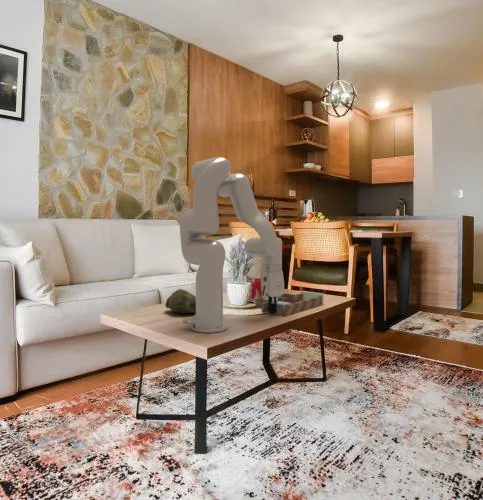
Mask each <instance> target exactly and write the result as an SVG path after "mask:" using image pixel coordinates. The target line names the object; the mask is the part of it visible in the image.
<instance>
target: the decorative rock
mask: <svg viewBox="0 0 483 500" xmlns="http://www.w3.org/2000/svg"><path fill="white" fill-rule="evenodd" d="M165 308H166V309H170V310H172V311H173V312H174V313H179V314H180V315H185V314H189V313H191V314H192V313H193V314H196V295H194V294H193V293H191V292H189V291H187V290H184V289H181V288H179V289H177V290H175V291H173V292H172V293H171V295H170V296H169V297H168V298H167V299H166V301H165Z"/></svg>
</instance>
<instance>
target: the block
mask: <svg viewBox="0 0 483 500" xmlns="http://www.w3.org/2000/svg"><path fill="white" fill-rule="evenodd" d="M289 304H292V303H288V302H281V301H278V302H277V313H276V314H278V315H282V306H285V305H289Z"/></svg>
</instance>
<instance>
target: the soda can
mask: <svg viewBox="0 0 483 500" xmlns="http://www.w3.org/2000/svg"><path fill="white" fill-rule="evenodd" d="M248 282H250V283H251V289H250V296H249V299H250V301H252V302H255V298H260V297H264V296H263V295H262V276H260V275H259V276H257V275H255V276H254V275H252V276H251V275H250V276H248V279H247V283H248Z"/></svg>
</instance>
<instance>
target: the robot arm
mask: <svg viewBox="0 0 483 500" xmlns="http://www.w3.org/2000/svg"><path fill="white" fill-rule="evenodd" d="M231 164H232V163H231V161H230V160H228V159H227V158H225V157H222V156H221V157H220V156H218V157H217V156H216V157H211V158H207V159H204V160H199V161H196V162H195V163H194V164H193V165H192V167H191V171H190V173H191V177H192V179H193V180H194V182H195V183H194V186H193V190H192V208H190V209H187V210H185V211H184V212H183V213H182V215H181V217H180V219H179V236H180V248H181V253H182V257H183V258H184V260H185V262H187V263H189V264H190V265H195V266H198V268H197V271H196V275H195V297H196V313H195V314H194V315H193V316H191V317H183V318H182V324H183V325H184V324H185V325H191V330H192V331H194V332H197V333H204V334H209V333H211V334H213V333H219V332H223V331H225V330H227V329H228V324H227V323H226V322H224V317H223V316H224V313H223V312H224V311H223V310H224V309H223V308H224V304H223V303H224V298H223V297H224V292H223V291H224V290H223V287H224V285H223V281H224V280H223V278H224V275H223V274H224V264H225V260H226V249H225V247H224V245H223V244H222V243H221V242H220V241H218V240H216V239H211V238H204V236H211V235H215V234H217V232H218V231H219V227H220V220H219V219H220V218H219V216H220V215H219V204H218V203H219V202H218V200H219V199H218V197H222V198H230V201H231V204H232V206H233V209H234V213H235V216H236V218H237V219H238V220H239V221H241V222H243V223H244V224H245V225H248V226H249V227H251V228H252V229H253V230H254V231H255V232H256V233H257V234H258V236H259V237H250V238H249V239H247V240H246V241H245V243H244V247H243V248H244V251H245V253H246V254H247V255H248V256H251V257H255V258H256V257H258V258H262V259H263V260H262V261H263V262H262V263H263V264H262V265H263V266H262V267H263V269H262V276H261V279H262V295H263V300H267V303H268V312H267V313H269V314H278V313H277V302H278V298H279V297H281V295H283V294H284V293H285V279H284V272H283V241H282V239H281V238H280V237H278V236H277V234H276V230H275V229H274V227H273V225H272V224H271V222H270V221H269V220H268V219H267V218H266V217H265V215H264V214H262V212H260V211H259V208H258V205H257V201H256V199H255V196H254V192H253V189H252V185H251V184H250V181H249V178H248V177H247V176H246V175H245V174H243V173H238V172H237V173H231V171H232V165H231Z"/></svg>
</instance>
